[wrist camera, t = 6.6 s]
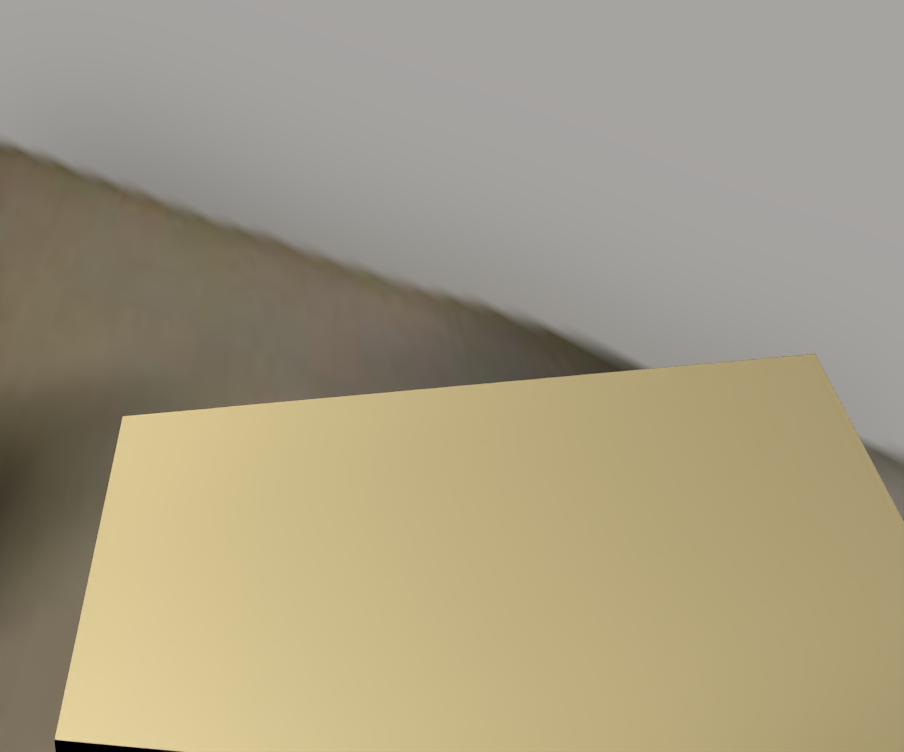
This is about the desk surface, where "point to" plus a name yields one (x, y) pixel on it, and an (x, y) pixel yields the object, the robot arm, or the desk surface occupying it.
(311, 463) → the tall brick
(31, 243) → the desk surface
